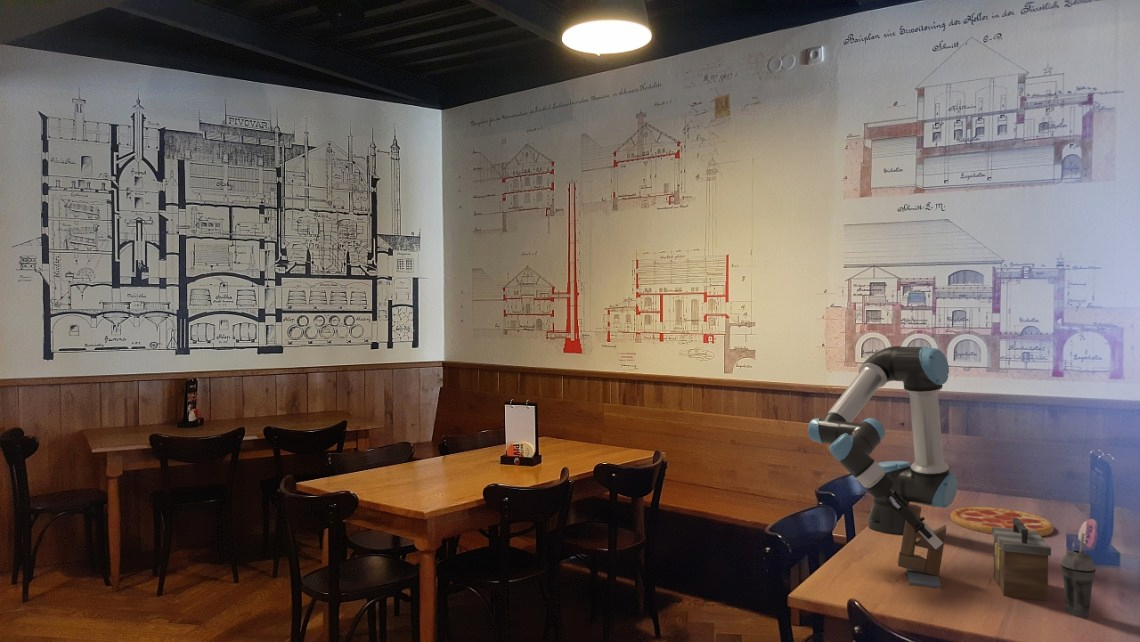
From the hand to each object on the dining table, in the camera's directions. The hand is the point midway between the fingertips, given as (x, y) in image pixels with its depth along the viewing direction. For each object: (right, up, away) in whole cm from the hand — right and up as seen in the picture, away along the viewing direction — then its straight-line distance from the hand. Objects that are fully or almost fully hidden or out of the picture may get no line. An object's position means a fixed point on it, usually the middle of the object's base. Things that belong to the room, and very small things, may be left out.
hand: (938, 543), depth 216 cm
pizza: (+50, -10, +57) cm, 77 cm away
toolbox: (+19, -10, -7) cm, 22 cm away
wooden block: (-4, -9, +4) cm, 10 cm away
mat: (-4, -10, +1) cm, 11 cm away
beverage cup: (+23, -11, -24) cm, 35 cm away
